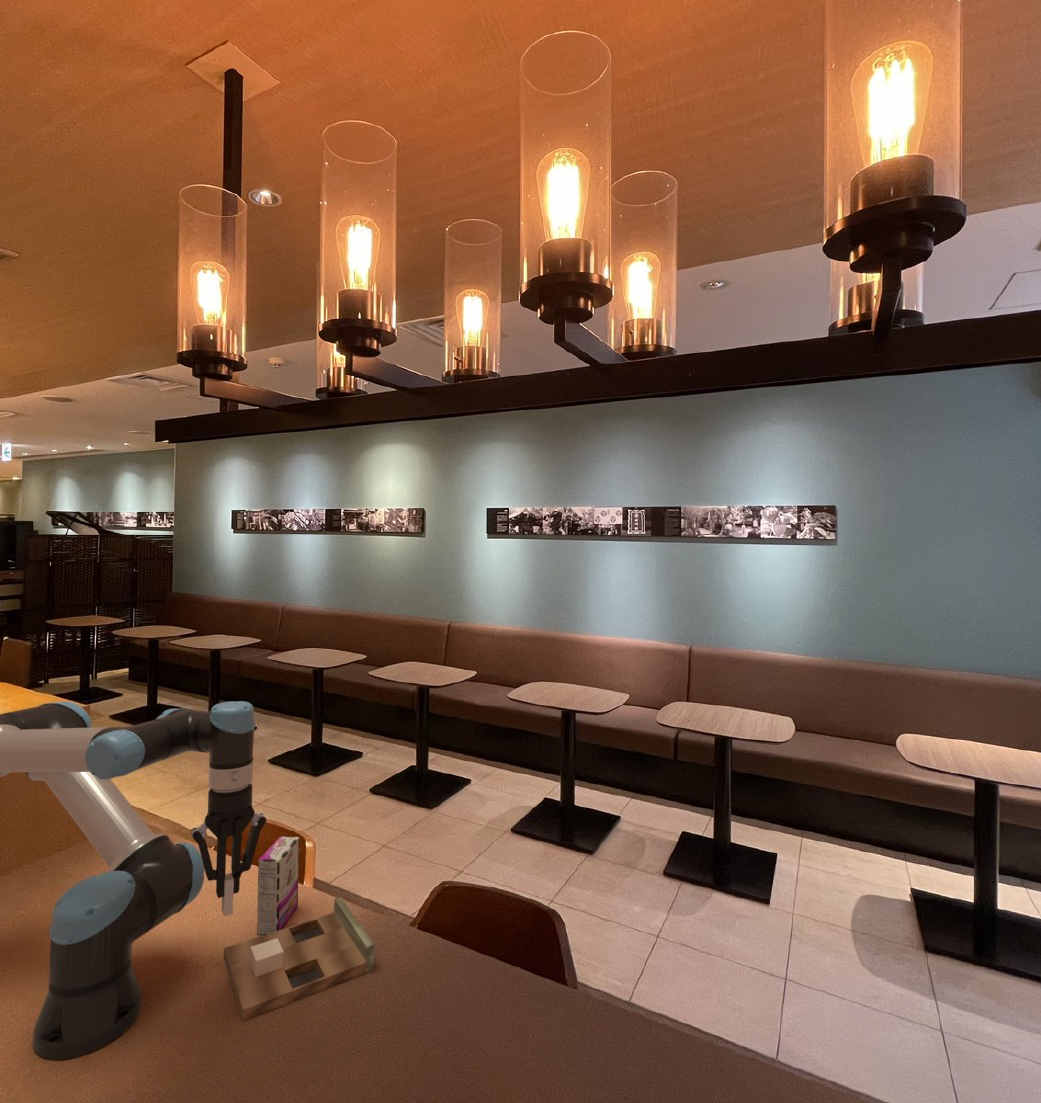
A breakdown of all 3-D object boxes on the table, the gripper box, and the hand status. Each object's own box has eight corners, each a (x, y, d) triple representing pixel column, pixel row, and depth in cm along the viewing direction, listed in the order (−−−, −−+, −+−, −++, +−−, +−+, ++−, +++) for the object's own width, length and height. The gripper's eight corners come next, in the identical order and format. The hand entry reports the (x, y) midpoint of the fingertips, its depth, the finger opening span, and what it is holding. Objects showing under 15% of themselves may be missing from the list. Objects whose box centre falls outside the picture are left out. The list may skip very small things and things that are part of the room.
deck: (242, 1021, 103) (243, 992, 104) (223, 958, 120) (224, 933, 120) (373, 969, 117) (374, 944, 117) (340, 919, 134) (341, 897, 134)
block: (255, 977, 112) (256, 961, 112) (250, 962, 116) (250, 947, 116) (283, 967, 115) (283, 951, 115) (276, 953, 119) (277, 938, 119)
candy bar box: (277, 906, 138) (279, 835, 139) (298, 906, 138) (300, 836, 139) (254, 936, 127) (257, 859, 127) (277, 936, 127) (280, 860, 127)
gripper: (194, 799, 105) (190, 934, 104) (271, 785, 112) (268, 910, 112) (189, 786, 111) (185, 913, 110) (263, 773, 118) (259, 892, 118)
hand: (227, 911), depth 111 cm, fingers closed
